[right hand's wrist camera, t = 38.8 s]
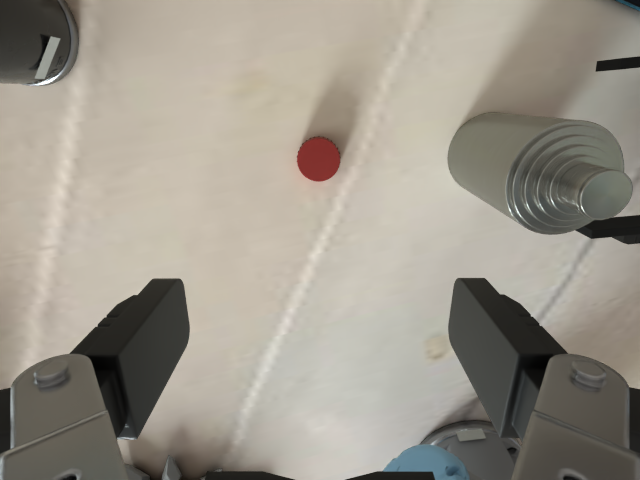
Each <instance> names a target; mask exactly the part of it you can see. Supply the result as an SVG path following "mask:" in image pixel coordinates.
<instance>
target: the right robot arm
mask: <svg viewBox="0 0 640 480" xmlns="http://www.w3.org/2000/svg"><path fill="white" fill-rule="evenodd" d="M78 44H79V43H78V31H77V27H76V23H75V20H74V17H73V15H72V13H71V11H70V9H69V7H68V5H67V3H66V2H65V0H0V83H11V84H22V85H30V86H43V85H49V84H53V83H55V82H57V81H59V80H61V79H62V78H63V77H65V76H66V75H67V74H68V73H69V71H70V70H71V68H72V67H73V65H74V63H75V60H76V57H77V53H78ZM448 331H449V339H450V343H451V345H452V348H453V349H454V351H455V353H456V355H457V357H458V359H459V361H460V363H461V365H462V367H463V368H464V370H465V372H466V374H467V376H468V378H469V380H470V382H471V384H472V386H473V387H474V389H475V391H476V393H477V395H478V397H479V399H480V401H481V403H482V405H483V406H484V408H485V410H486V412H487V414H488V416H489V418H490V420H491V422H492V424H493V425H494V427H495V429H496V431H497V433H498V435H499V437H500V438H520V439H521V441H522V445H521V449H520V452H519V455H518V458H517V462H516V465H515V468H514V471H513V474H512V478H511V480H640V389H635V388H630V387H629V386H628V384H627V382H626V381H625V379H624V378H623V377H622V376H621V375H620V374H619V373H617V372H616V371H615V370H613V369H612V368H610V367H609V366H607V365H605V364H603V363H601V362H599V361H597V360H594V359H591V358H588V357H585V356H580V355H575V354H568V353H567V352H566V351H565V350H564V349H563V348H562V347H561V346H560V345H559V344H558V343H557V342H556V340H555V339H554V338H553V337H552V336H551V335H550V334H549V333H548V332H547V331H546V330H545V329H544V328H543V327H542V326H539V323H538V322H537V321H536V320H535V319H534V318H533V317H531V315H530V313H529V312H528V311H527V310H526V309H525V308H524V307H523V306H522V305H521V304H520V303H518V302H516V301H514V300H513V299H511V298H509V297H507V296H506V295H500V294H499V293H498V292H497V291H496V290H495V289H494V287H493V286H492V285H491V284H490V283H489V282H488V281H487V280H486V279H485V278H457V279H456V281H455V284H454V289H453V296H452V303H451V311H450V318H449V326H448ZM189 332H190V326H189V318H188V311H187V304H186V297H185V290H184V285H183V282H182V280H181V279H152V280H151V281H150V282H149V283H148V284H147V285H146V287H145V288H144V289H143V290H142V291H141V292H140V293H139V294H138V295H133V296H131V297H130V298H128V299H126V300H124V301H123V302H121V303H119V304H117V305H116V306H115V307H114V308H113V309H112V310H111V312H110V313H109V314H108V315H107V318H104V319H103V320H102V321H101V322H100V323H99V324H98V327H95V328H94V329H93V330H92V331H91V332H90V333H89V334H88V335H87V336H86V337H85V338H84V339H83V340H82V341H81V342H80V343H79V344H78V345H77V347H76V348H75V349H74V350H73V351H72V352H71V353H70V354H65V355H60V356H55V357H52V358H49V359H46V360H43V361H41V362H39V363H37V364H35V365H33V366H31V367H30V368H28V369H27V370H25V371H24V372H23V373H21V374H20V375H19V376H18V377H17V378H16V379H15V381H14V382H13V384H12V386H11V388H8V389H3V390H0V480H129V478H128V474H127V471H126V468H125V465H124V462H123V458H122V455H121V452H120V449H119V445H118V442H117V439H137V438H138V436H139V435H140V433H141V431H142V429H143V427H144V425H145V423H146V421H147V420H148V418H149V416H150V414H151V412H152V410H153V408H154V406H155V405H156V403H157V401H158V399H159V397H160V395H161V393H162V391H163V390H164V388H165V386H166V384H167V382H168V380H169V378H170V376H171V375H172V373H173V371H174V369H175V367H176V365H177V363H178V361H179V360H180V358H181V356H182V354H183V352H184V350H185V348H186V346H187V344H188V340H189ZM205 480H294V479H290V478H286V477H282V476H278V475H274V474H270V473H267V472H207V474H206V477H205ZM346 480H435V477H434V474H433V472H373V473H370V474H366V475H362V476H358V477H354V478H350V479H346Z"/></svg>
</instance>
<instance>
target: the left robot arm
mask: <svg viewBox="0 0 640 480" xmlns="http://www.w3.org/2000/svg"><path fill="white" fill-rule="evenodd" d="M639 67H640V57H630V58H621V59H613V60H605V61H597V66H596V71H607V70H619V69H629V68H639ZM576 231H578V232H580V233H582V234H583V235H585V236H587V237H589V238H591V239H594V238H605V237H612V238H615V239H617V240H619V241H621V242H623V243H626V244H637V243H640V215H636V216H625V217H614V218H609V219H604V220H593V221H592V222H590V223H589V224H587V225H585V226H583V227H581V228H579V229H576ZM520 449H521V446H520V444H519V443H518V441H517V439H516V438H500V437H499V435H498V433H497V431H496V429H495V427H494V425H493V424H492V423H489V422H484V421H464V422H458V423H454V424H451V425H447V426H445V427H443V428H441V429H439V430H437V431H435V432H433V433H432V434H431V435H429V436H428V437H427V438H426V439H424V441H423V442H422V443H421V444H420V445H417V446H414V447H411V448H409V449H407V450H405V451H403V452H402V453H401V454H400V455H399V456H398V457H397V458H394V459H393V460H392V461H391V462H390V463H389V464H388V465H387V466H386V468H385V469H384V470H383V471H382V472H433V474H434V477H435V480H511V478H512V474H513V471H514V468H515V465H516V462H517V458H518V455H519V452H520Z"/></svg>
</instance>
